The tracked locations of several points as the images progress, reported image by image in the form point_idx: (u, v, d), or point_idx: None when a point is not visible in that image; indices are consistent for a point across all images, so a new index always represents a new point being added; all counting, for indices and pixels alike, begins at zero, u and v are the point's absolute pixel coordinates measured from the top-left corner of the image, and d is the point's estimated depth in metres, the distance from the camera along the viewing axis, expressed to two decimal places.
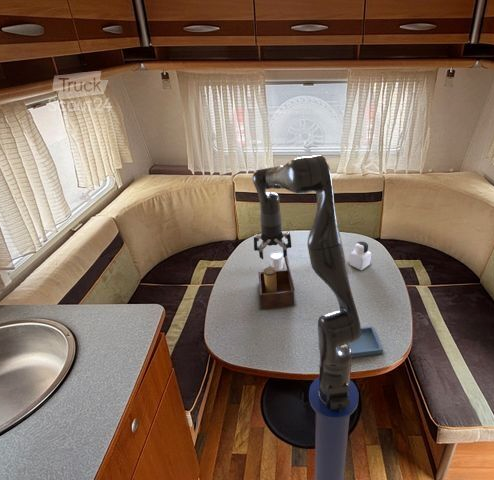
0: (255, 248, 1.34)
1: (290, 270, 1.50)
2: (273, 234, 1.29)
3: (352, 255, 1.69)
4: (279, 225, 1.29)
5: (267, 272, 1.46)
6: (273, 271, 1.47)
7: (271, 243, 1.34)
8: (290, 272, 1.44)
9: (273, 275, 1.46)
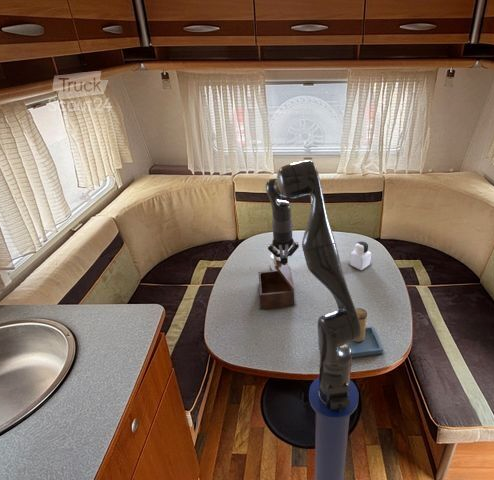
0: None
1: (287, 271, 1.50)
2: None
3: (352, 255, 1.69)
4: None
5: None
6: (361, 316, 1.25)
7: None
8: (285, 274, 1.44)
9: (359, 320, 1.25)
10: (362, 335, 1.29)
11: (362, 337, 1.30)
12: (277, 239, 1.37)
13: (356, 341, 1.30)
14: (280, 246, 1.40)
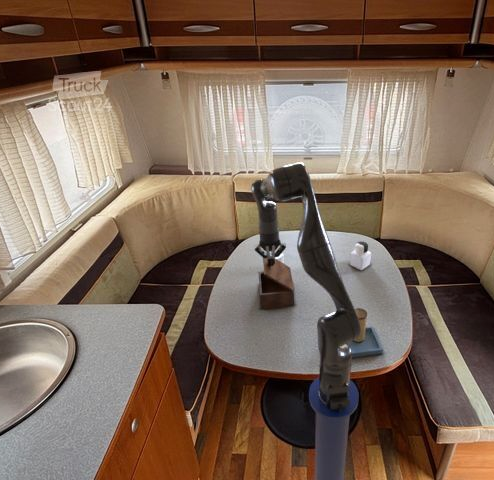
0: None
1: (284, 273, 1.50)
2: None
3: (352, 255, 1.69)
4: None
5: None
6: (361, 316, 1.25)
7: None
8: (280, 277, 1.45)
9: (359, 320, 1.25)
10: (362, 335, 1.29)
11: (362, 337, 1.30)
12: (263, 240, 1.36)
13: (356, 341, 1.30)
14: (267, 247, 1.39)
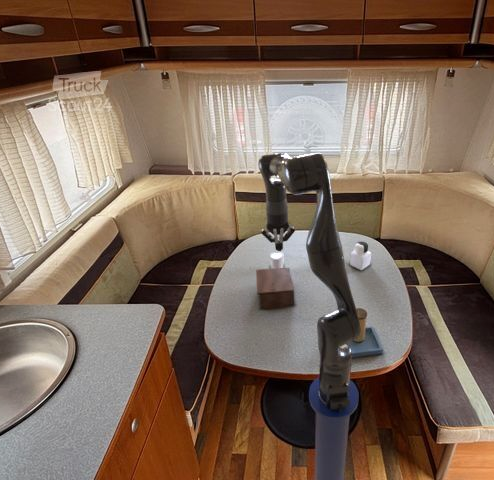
0: None
1: (282, 277, 1.51)
2: None
3: (352, 255, 1.69)
4: None
5: None
6: (361, 316, 1.25)
7: None
8: (276, 285, 1.47)
9: None
10: (362, 335, 1.29)
11: (362, 337, 1.30)
12: (271, 222, 1.26)
13: (356, 341, 1.30)
14: (275, 230, 1.29)
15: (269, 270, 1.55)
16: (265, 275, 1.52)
